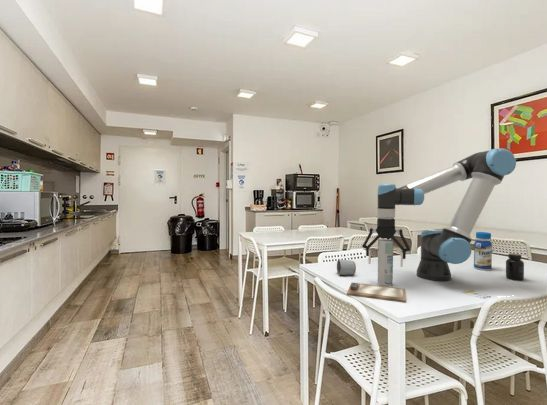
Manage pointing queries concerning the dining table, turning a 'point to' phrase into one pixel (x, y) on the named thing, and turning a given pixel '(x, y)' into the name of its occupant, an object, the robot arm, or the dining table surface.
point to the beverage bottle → (483, 251)
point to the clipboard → (377, 292)
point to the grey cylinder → (346, 267)
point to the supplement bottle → (515, 267)
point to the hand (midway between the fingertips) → (385, 264)
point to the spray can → (385, 262)
